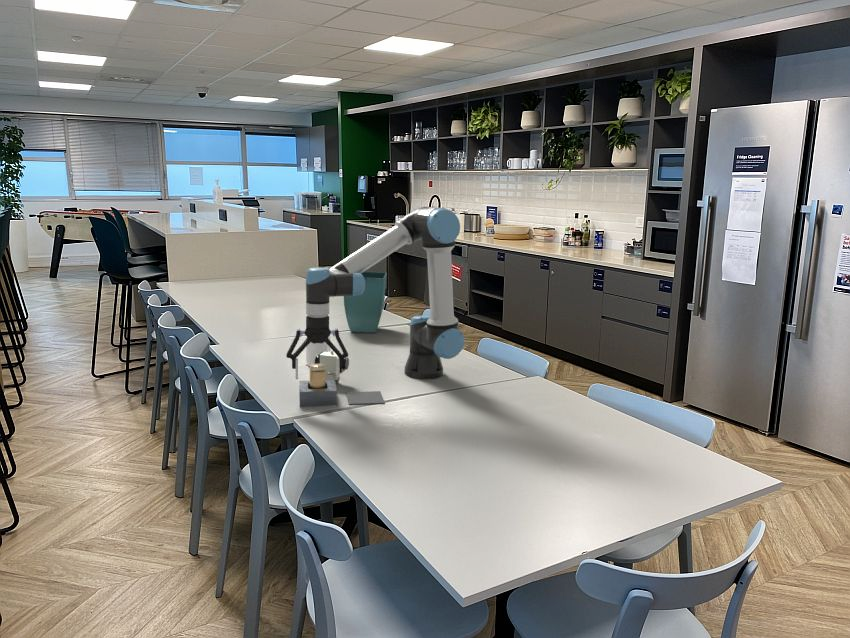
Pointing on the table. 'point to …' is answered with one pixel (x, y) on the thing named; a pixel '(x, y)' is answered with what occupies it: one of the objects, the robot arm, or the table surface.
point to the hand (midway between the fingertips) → (317, 377)
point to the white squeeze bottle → (315, 351)
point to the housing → (317, 394)
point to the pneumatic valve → (331, 364)
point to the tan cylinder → (317, 376)
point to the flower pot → (366, 304)
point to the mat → (365, 398)
